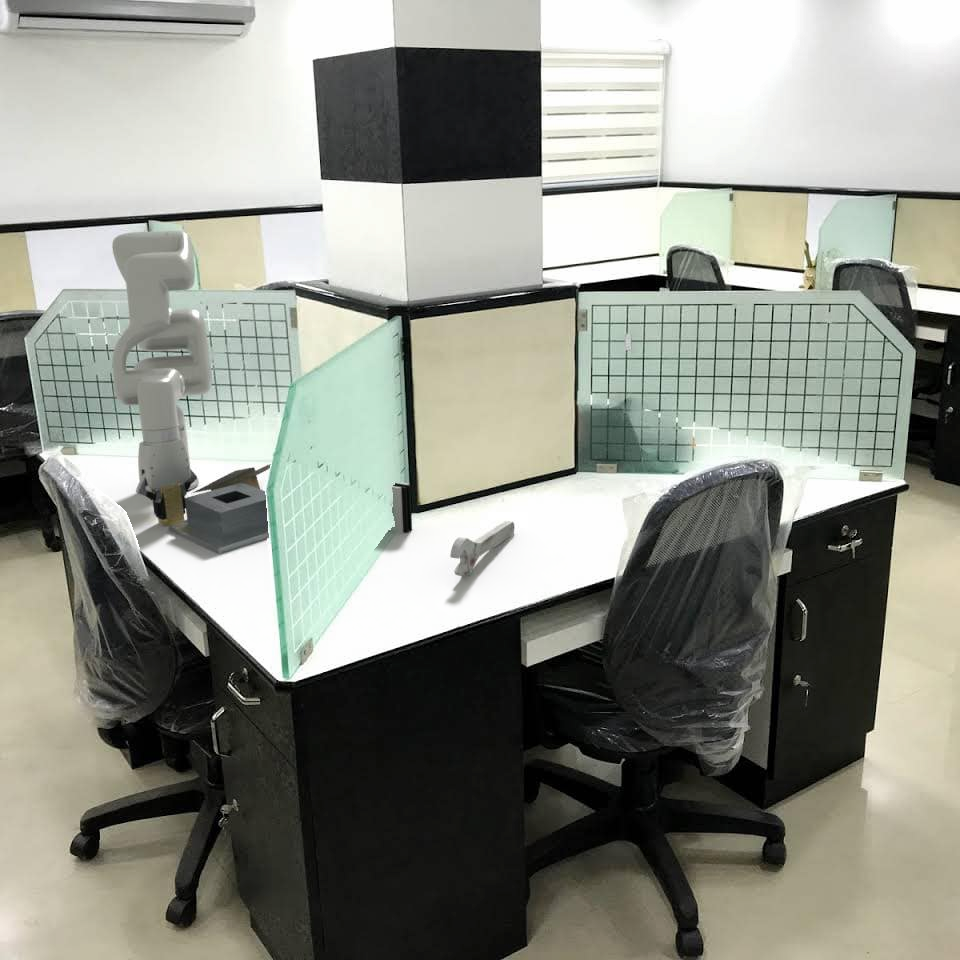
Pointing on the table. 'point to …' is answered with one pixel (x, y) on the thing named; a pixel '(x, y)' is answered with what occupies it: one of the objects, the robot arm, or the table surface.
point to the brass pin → (172, 504)
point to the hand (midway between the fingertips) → (170, 514)
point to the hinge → (401, 508)
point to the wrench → (478, 547)
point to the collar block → (225, 518)
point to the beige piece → (237, 479)
